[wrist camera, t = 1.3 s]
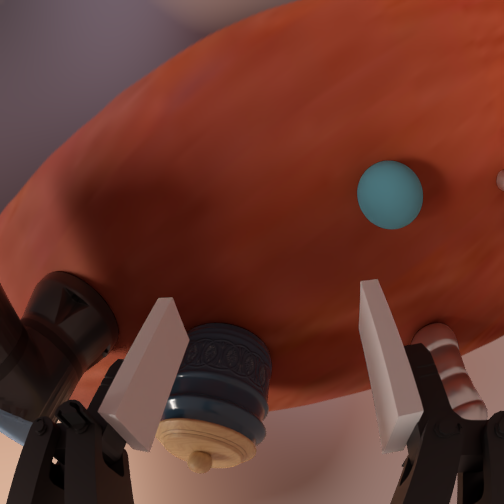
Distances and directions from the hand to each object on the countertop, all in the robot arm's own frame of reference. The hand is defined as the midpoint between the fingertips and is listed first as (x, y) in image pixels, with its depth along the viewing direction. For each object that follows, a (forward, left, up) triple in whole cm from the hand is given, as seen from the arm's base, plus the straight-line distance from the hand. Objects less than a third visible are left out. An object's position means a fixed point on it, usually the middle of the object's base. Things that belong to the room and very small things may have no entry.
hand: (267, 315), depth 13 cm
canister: (-10, -21, -18) cm, 29 cm away
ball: (+10, 0, -14) cm, 17 cm away
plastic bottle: (+18, -21, -18) cm, 33 cm away
